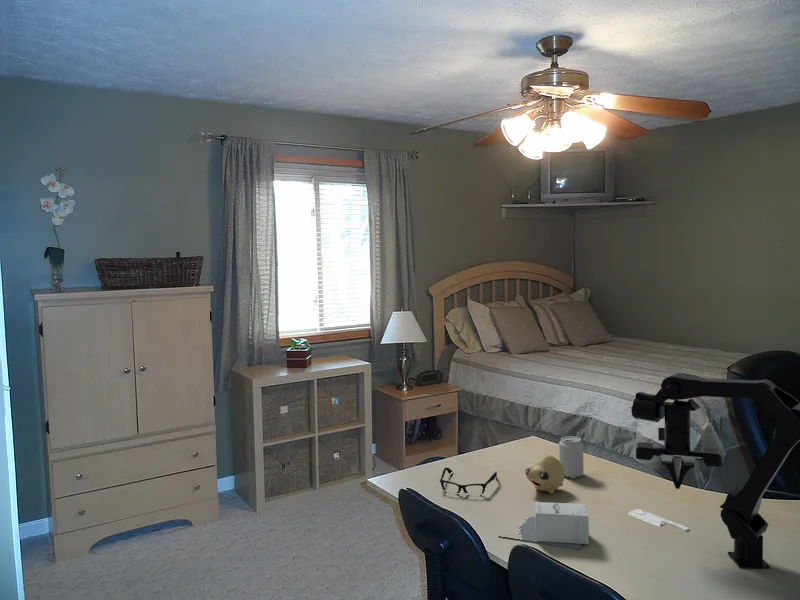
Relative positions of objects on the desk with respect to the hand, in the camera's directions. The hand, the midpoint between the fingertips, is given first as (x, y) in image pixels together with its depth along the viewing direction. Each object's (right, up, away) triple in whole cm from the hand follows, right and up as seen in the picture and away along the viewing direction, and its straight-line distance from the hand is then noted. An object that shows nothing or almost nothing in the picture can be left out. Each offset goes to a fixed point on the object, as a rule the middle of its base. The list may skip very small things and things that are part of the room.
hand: (677, 488), depth 146 cm
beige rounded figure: (-24, -12, +34) cm, 43 cm away
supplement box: (-21, -10, +2) cm, 23 cm away
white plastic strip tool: (0, -13, +11) cm, 17 cm away
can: (-13, -11, +47) cm, 49 cm away
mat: (-31, -14, +8) cm, 35 cm away
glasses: (-46, -13, +41) cm, 63 cm away
